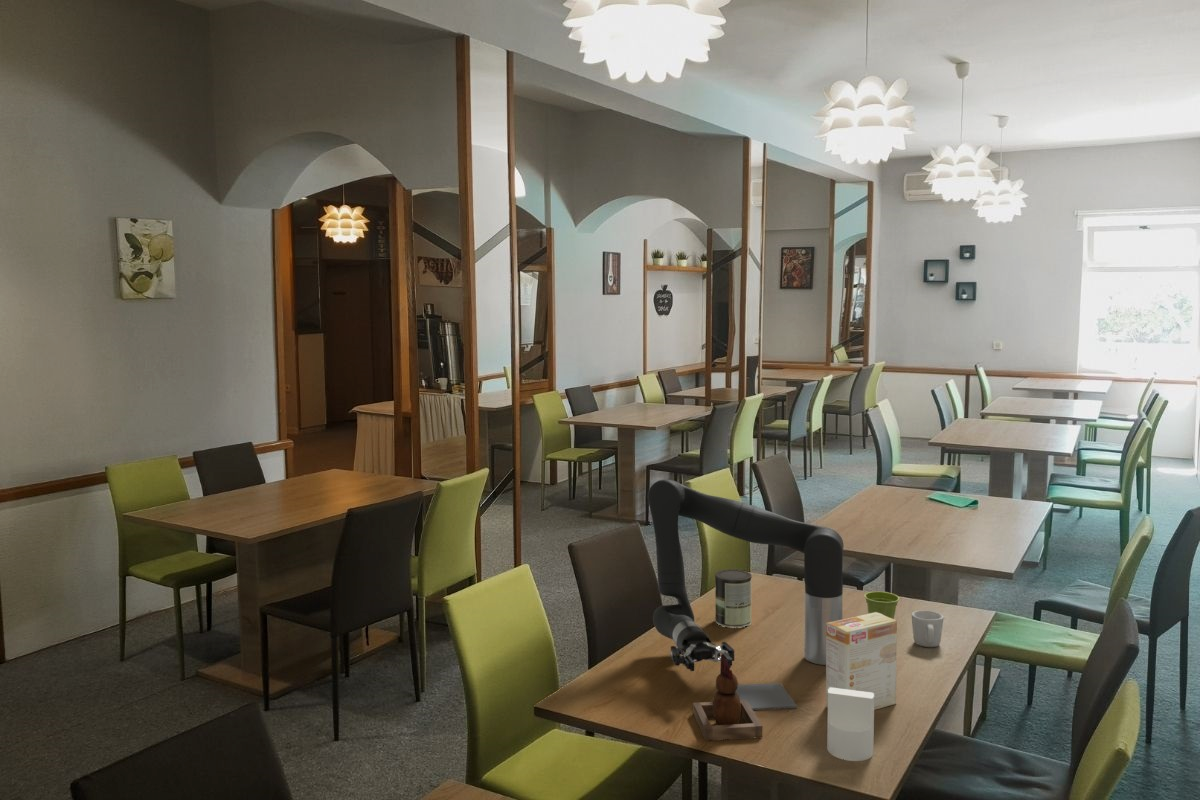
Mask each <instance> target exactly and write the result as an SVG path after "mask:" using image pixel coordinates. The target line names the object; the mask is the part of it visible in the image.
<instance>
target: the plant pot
mask: <svg viewBox="0 0 1200 800" xmlns="http://www.w3.org/2000/svg"><path fill="white" fill-rule="evenodd" d="M863 596H864V598H865V601H866V604H867V614H869V613H874V612H877V613H880V614H883V615H884V616H887V617H889V618H892V619H894V620H895V614H896V609H897V606H898V602H899V601H900V597H899V596H898V595H897V594H895V593H891V592H888V591H869V592H867V593H864V595H863Z"/></svg>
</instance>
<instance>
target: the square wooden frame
mask: <svg viewBox="0 0 1200 800" xmlns="http://www.w3.org/2000/svg"><path fill="white" fill-rule="evenodd" d="M740 702H741V716H742V718H743V719H744V721H745V723H738V724H732V725H717V724H716V725H711V723H710V720H709V718H708V717H714V714H713V701H704V702H702V701H701V702H692V708H693V710H692V712H693V713H692V714H693V717H694V719H695V721H696V723H697V726H698V728H699V727H700V728H699V730H700V729H701V730H700V732H701V734H702V737H703V738H705V739H704V741H705V740H713V741H720V740H719V739H722V740H721V741H723V739H724V740H725V739H730V740H742V739H741V738H747V739H755V738H754V737H762V738H763V725H762V723H761V722H760V720H759V718H758V717H757V716H758V715H756V713H755V712H754V711H755V710H752V708H751V707H750V705H749V703H748V702H747V700H740ZM725 741H726V740H725Z"/></svg>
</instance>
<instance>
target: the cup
mask: <svg viewBox="0 0 1200 800" xmlns="http://www.w3.org/2000/svg"><path fill="white" fill-rule="evenodd" d="M944 619H945V617H944V615H943V614H942V613H940V612H936V611H933V610H925V609H922V610H915V611H913V612H911V624H912V625H911V626H912V635H913V641H914V642H915V644H916V645H918V646H921V647H924V648H936V647H938V646H939V645H940V643H941V641H942V632H943V625H944Z"/></svg>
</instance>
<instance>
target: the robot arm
mask: <svg viewBox="0 0 1200 800" xmlns="http://www.w3.org/2000/svg"><path fill="white" fill-rule="evenodd" d="M647 492H648V493H647V501H648V507H649V510H650V514H651V518H652V523H653V529H654V537H655V549H656V552H655V553H656V564H657V565H656V566H657V568H656V569H657V570H656V571H657V582H658V583H657V584H658V585H657V586H658V587H657V588H658V592H659V594H660V595H661V596H665V597H672V598H675V599H676V601H677V604H669V605H668V604H667V605H664V604H662V605H660V606H658V607H657V608H655V610H654V612H653V613H652V614H653V615H652V623H653V626H654V627H655V629H656V631H657V632H658V633H659V634H660V635H661V636H664V637H666V638H667V639H670V640H672V641H673V642H674V644H675V645H672V646H670V658H671V661H672V663H673V664H674V666H676V667H678V666H680V665H681V664H682V666H684V667H685V668H686V670H689V671H690V672H694V671H695V663H698V662H701V661H711V662H713V663H717V662H718V663H719V662H721V655H723V660H724V664H725V659H727V666H728V665H729V666H730V669H731V668H732V666H733V662H734V661H735V649H734V648H733V647H732V646H731V645H730V644H729V643H727V642H725V641H722V642H721V645H716V644H715V643H713V642H712V640H711V638H710V637H709V635H708V634H707V633H706V632H705V631H704V629H702V627H701V626H699V624H697V623H696V622H695V615H694V612H693V608H692V606H691V603H690V600H689V596H688V593H687V588H686V579H685V578H686V576H685V564H684V558H683V552H682V548H681V542H680V536H679V535H680V534H679V516H680V517H685V518H688V519H692V520H696V521H698V522H700V523H703V524H705V525H707V526H709V527H710V528H712V529H714V530H716V531H719V532H720V533H723V534H724V535H728V536H730V537H732V538H736V539H739V540H742V541H745V542H749V543H753V544H759V545H760V544H761V545H772V546H780V547H786V548H789V549H792V550H794V551H795V550H796V551H798V552H800V553H801V554H802V553H803V554H804V558H803V559H804V560H803V564H804V565H803V567H804V568H803V569H804V571H803V573H804V579H803V580H804V581H803V582H804V650H803V651H804V659H805V660H806V661H808V662H809V663H813V664H816V665H822V666H826V623H829V622H834V621H838V620H843V593H844V590H843V588H844V587H843V585H844V584H843V561H844V560H843V553H844V552H843V551H844V540H843V539H842V536H841V535H840V533H838V531H836V530H835V529H832V528H831V527H827V526H822V525H817V524H812V523H807V522H803V521H798V520H794V519H791V518H788V517H785V516H783V515H780V514H778V513H775V512H773V511H770V510H766V509H763V508H761V507H758V506H755V505H752V504H748V503H745V502H742V501H739V500H736V499H735V500H734V499H730V498H726V497H721V496H715V495H710V494H706V493H704V492H700V491H698V490H695V489H693V488H691V487H689V486H686V485H684V484H682V483H680V482H677V481H676V480H673V479H659V480H657V481H655V482H654V483H653V484H651V486H650V487H649V488H648V491H647Z"/></svg>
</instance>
